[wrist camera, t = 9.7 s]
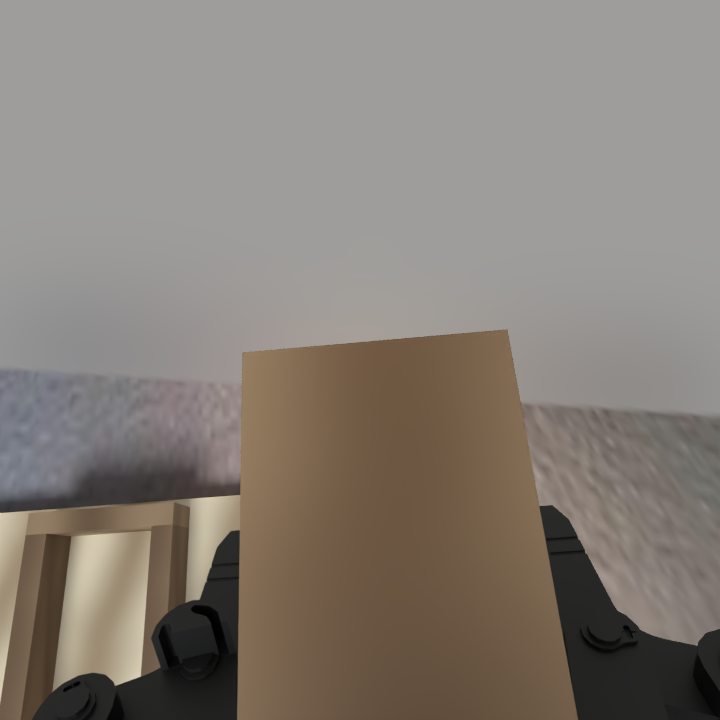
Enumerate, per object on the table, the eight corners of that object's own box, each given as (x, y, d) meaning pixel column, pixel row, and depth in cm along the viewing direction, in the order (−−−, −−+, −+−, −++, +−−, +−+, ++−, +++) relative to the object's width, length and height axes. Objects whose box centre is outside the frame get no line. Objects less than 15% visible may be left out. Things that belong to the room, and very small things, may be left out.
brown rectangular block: (442, 476, 20) (507, 329, 8) (473, 731, 17) (645, 1088, 5) (334, 484, 20) (241, 352, 8) (347, 739, 17) (231, 1102, 5)
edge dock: (304, 492, 34) (293, 484, 31) (313, 832, 28) (301, 869, 25) (-37, 518, 35) (-85, 512, 32) (-102, 852, 29) (-170, 890, 26)
